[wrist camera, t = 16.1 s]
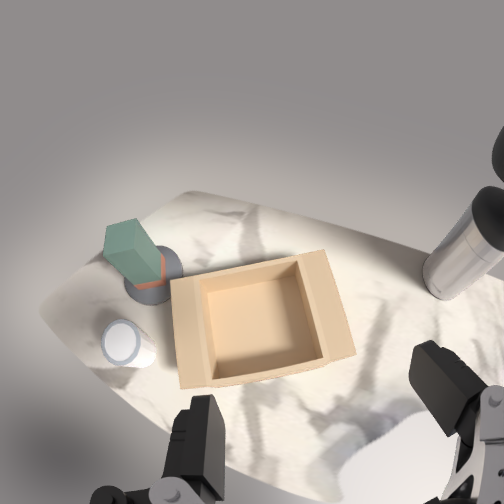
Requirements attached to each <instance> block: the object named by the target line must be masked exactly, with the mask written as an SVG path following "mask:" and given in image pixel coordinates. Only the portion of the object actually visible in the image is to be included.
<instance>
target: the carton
mask: <svg viewBox="0 0 504 504" xmlns="http://www.w3.org/2000/svg"><path fill="white" fill-rule="evenodd" d="M170 285H171V302H172V316H173V328H174V339H175V349H176V358H177V367H178V375H179V382H180V389H191V388H200V387H214V388H219V387H226V386H233V385H239V384H246V383H251V382H257V381H262V380H268V379H273V378H278V377H282V376H287V375H291V374H296V373H300V372H304V371H308V370H312V369H316V368H320V367H323V366H325V365H327V364H329V363H330V362H334V361H337V360H341V359H344V358H347V357H351V356H354V355H357V354H356V350H355V346H354V343H353V339H352V335H351V332H350V328H349V325H348V322H347V318H346V315H345V311H344V308H343V305H342V302H341V298H340V295H339V292H338V289H337V286H336V283H335V280H334V277H333V274H332V271H331V268H330V265H329V262H328V259H327V256H326V253H325V250H324V249H323V250H318V251H314V252H309V253H304V254H299V255H294V256H290V257H285V258H280V259H275V260H270V261H265V262H260V263H255V264H250V265H245V266H240V267H235V268H230V269H225V270H220V271H215V272H210V273H205V274H200V275H194V276H189V277H184V278H179V279H174V280H170Z"/></svg>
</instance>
